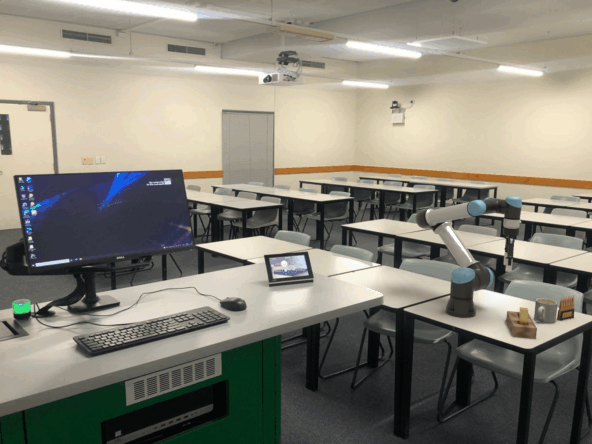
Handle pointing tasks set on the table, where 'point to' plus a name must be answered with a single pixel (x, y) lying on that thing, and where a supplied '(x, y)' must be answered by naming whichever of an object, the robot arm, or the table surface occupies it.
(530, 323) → the walnut bore block
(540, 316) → the coffee mug
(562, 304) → the ammunition clip
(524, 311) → the brass square peg
